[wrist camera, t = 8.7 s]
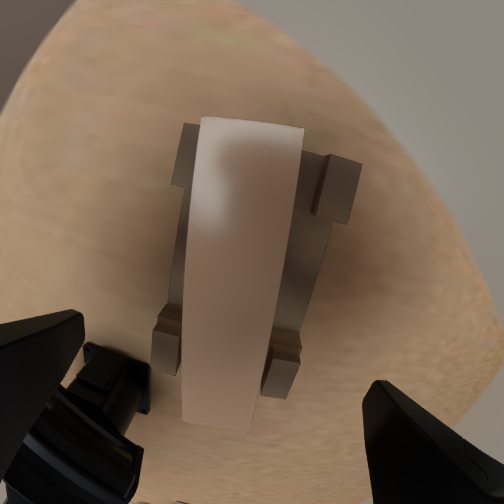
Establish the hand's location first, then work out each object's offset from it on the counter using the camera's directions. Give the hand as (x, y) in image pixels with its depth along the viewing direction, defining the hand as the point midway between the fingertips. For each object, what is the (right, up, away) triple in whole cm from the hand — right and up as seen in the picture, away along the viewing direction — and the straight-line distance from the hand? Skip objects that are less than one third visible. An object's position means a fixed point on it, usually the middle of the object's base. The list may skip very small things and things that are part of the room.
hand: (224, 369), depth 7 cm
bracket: (0, +3, +11) cm, 11 cm away
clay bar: (0, +2, +8) cm, 8 cm away
